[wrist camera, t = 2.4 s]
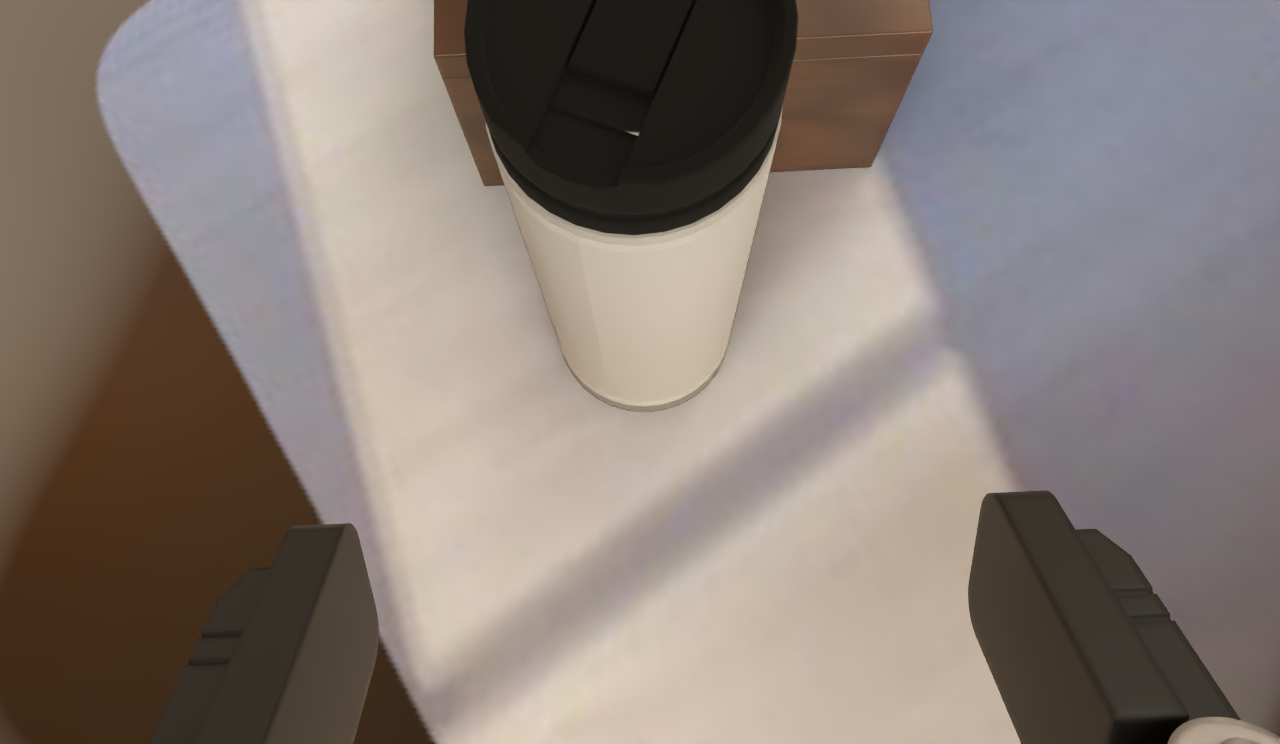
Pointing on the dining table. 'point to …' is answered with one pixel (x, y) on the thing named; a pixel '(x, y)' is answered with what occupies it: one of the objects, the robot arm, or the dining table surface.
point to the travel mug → (635, 171)
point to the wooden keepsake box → (816, 92)
